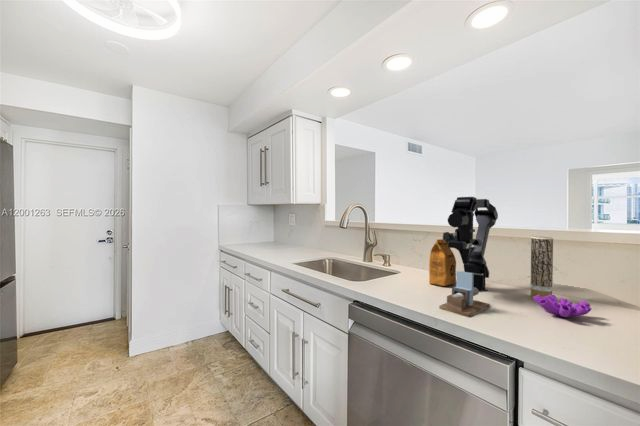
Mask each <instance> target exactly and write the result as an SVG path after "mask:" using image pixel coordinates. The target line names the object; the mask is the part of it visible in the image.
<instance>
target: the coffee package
mask: <svg viewBox="0 0 640 426" xmlns="http://www.w3.org/2000/svg"><path fill="white" fill-rule="evenodd" d="M447 246H448V242H447V243H446V242H445V240H444V239H443V238H442V239H436V241H435V242H434V244H433V246H432V248H431V250H430V253H429V262H428V264H429V265H428V266H429V267H428V273H429V279H428V280H429V281H428V284H430V285H435V286H440V287H447V286H451V285H454V284H455V283H457V260H456V256H455V254H454V252H453V250H452V248H449V247H447Z"/></svg>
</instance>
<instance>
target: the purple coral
mask: <svg viewBox="0 0 640 426" xmlns="http://www.w3.org/2000/svg"><path fill="white" fill-rule="evenodd" d="M532 299H533V301H535V303H536V304H537V305H538V306H540V307H541V308H542V309H544V310H545V311H546V312H548V313H550V314H553V315H556V316H558V317H561V318H575V317H583V316H584V315H587V314H589V313H590V312H591V311H592V307H591V304H590V303H589V302H587V301H585V300H581V301H580V302H579V303H577V302H575V304H574V305H573V302H570V301H568V299H567V298H563V297H562V298H560V302H559V301H558V298H557V297H556V295H555V294H552V295H548V296H545V297H541V296H540V295H536V296H534V297H533V298H532Z"/></svg>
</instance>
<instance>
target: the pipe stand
mask: <svg viewBox="0 0 640 426" xmlns="http://www.w3.org/2000/svg"><path fill="white" fill-rule="evenodd" d="M479 293H480V291H479V290H478V289H477V288H475V287H473V297H475V296H477V295H479ZM487 308H490V303H487V302H484V301H479V300H475V299H473V305H471V306H468V307H466V298H465V293H462V292H458V293H457V294H454V295H452V294H450V295H447V296H446V302H445V303H443V304H440V305H439V308H438V309H440V310H443V311H447V312H451V313H453V314H456V315H459V316H460V315H461V316H464V317H467V318H470V317H471V316H473V315H476V314H478V313H479V312H481V311H483V310H485V309H487Z"/></svg>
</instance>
